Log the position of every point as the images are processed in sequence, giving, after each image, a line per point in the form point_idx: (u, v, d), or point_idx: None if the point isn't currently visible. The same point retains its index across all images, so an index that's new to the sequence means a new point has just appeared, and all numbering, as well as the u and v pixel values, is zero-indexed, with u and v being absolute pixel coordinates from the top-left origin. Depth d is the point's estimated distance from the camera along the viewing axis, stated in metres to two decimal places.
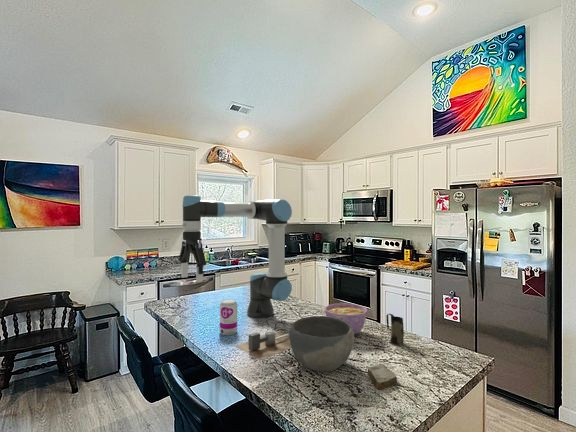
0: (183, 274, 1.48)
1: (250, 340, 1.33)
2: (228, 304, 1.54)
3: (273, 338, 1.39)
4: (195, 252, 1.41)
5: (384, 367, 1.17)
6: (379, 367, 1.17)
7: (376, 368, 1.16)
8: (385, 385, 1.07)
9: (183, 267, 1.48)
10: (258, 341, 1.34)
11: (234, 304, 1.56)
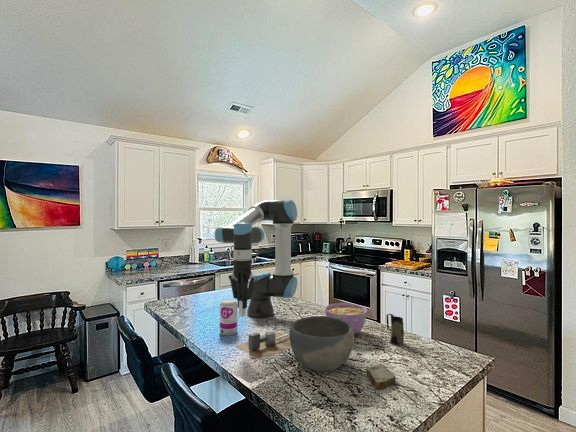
0: None
1: (250, 340, 1.33)
2: (228, 304, 1.54)
3: (273, 338, 1.39)
4: (245, 284, 1.37)
5: (383, 367, 1.17)
6: (378, 367, 1.17)
7: (375, 368, 1.16)
8: (384, 385, 1.07)
9: None
10: (258, 341, 1.34)
11: (234, 304, 1.56)
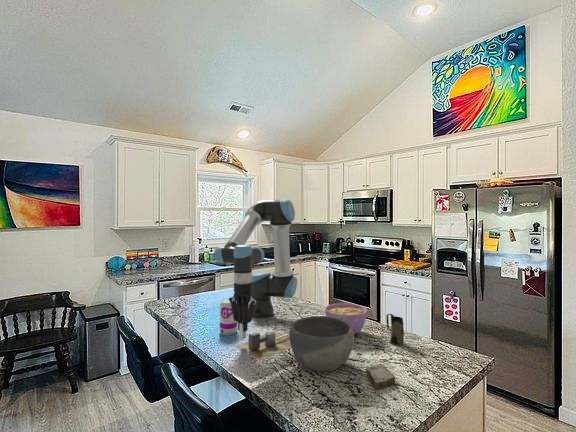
0: None
1: (250, 340, 1.33)
2: (228, 304, 1.54)
3: (273, 338, 1.39)
4: (245, 307, 1.37)
5: (383, 367, 1.17)
6: (378, 367, 1.17)
7: (375, 368, 1.16)
8: (383, 385, 1.07)
9: None
10: (258, 341, 1.34)
11: None
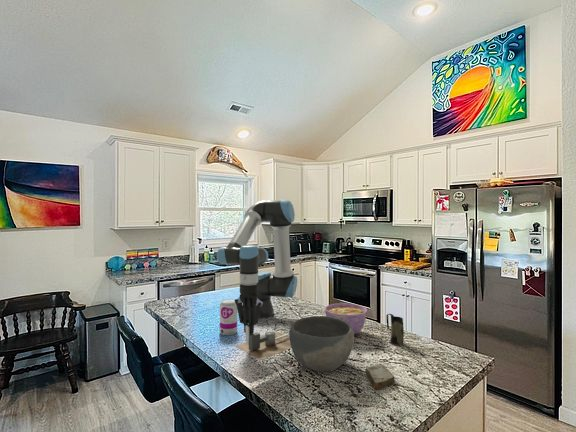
0: None
1: (250, 340, 1.33)
2: (228, 304, 1.54)
3: (273, 338, 1.39)
4: (252, 309, 1.34)
5: (382, 367, 1.17)
6: (377, 367, 1.17)
7: (374, 368, 1.16)
8: (383, 385, 1.07)
9: None
10: (258, 341, 1.34)
11: (234, 304, 1.56)
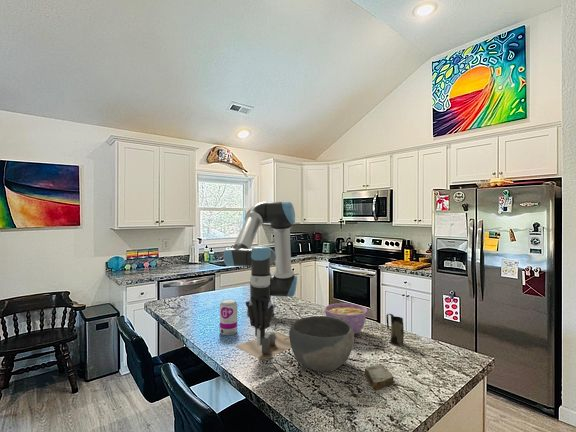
0: None
1: (264, 343, 1.30)
2: (228, 304, 1.54)
3: None
4: (263, 312, 1.30)
5: (382, 367, 1.17)
6: (377, 367, 1.17)
7: (373, 368, 1.16)
8: (381, 385, 1.07)
9: None
10: (269, 342, 1.33)
11: (234, 304, 1.56)
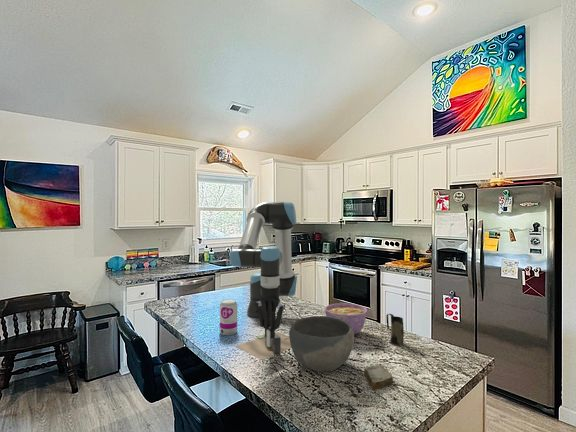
0: None
1: (277, 343, 1.30)
2: (228, 304, 1.54)
3: None
4: (273, 313, 1.30)
5: (381, 367, 1.17)
6: (376, 367, 1.17)
7: (373, 368, 1.16)
8: (380, 385, 1.07)
9: None
10: None
11: (234, 304, 1.56)
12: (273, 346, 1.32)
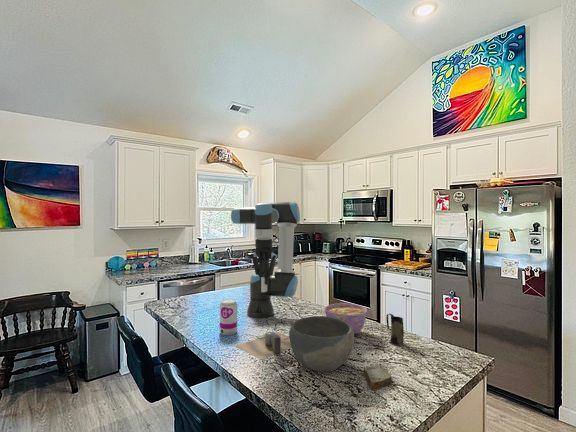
0: None
1: (277, 343, 1.30)
2: (228, 304, 1.54)
3: None
4: (267, 262, 1.45)
5: (380, 367, 1.17)
6: (375, 367, 1.17)
7: (372, 368, 1.16)
8: (379, 385, 1.07)
9: None
10: None
11: (234, 304, 1.56)
12: (273, 346, 1.32)
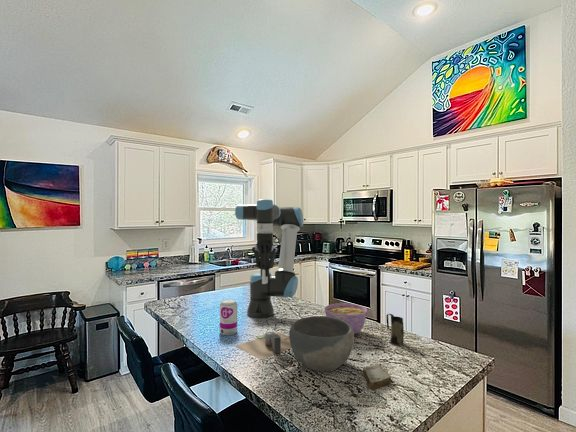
0: None
1: (277, 343, 1.30)
2: (228, 304, 1.54)
3: None
4: (267, 255, 1.52)
5: (380, 367, 1.17)
6: (375, 367, 1.17)
7: (371, 368, 1.16)
8: (378, 385, 1.07)
9: None
10: None
11: (234, 304, 1.56)
12: (273, 346, 1.32)
